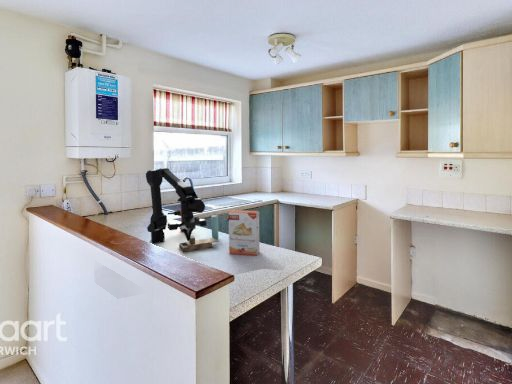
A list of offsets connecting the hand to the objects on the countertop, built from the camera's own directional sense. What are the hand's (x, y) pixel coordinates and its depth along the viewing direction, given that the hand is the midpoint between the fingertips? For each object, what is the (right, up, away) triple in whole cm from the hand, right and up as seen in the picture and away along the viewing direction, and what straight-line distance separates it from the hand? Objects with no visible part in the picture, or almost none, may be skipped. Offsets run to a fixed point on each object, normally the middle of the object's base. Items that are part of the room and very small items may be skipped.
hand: (188, 240), depth 165 cm
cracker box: (+29, -5, -7) cm, 30 cm away
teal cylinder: (+12, -2, +19) cm, 22 cm away
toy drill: (-11, 0, +33) cm, 35 cm away
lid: (+6, -1, +3) cm, 7 cm away
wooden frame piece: (+4, -4, +2) cm, 6 cm away
